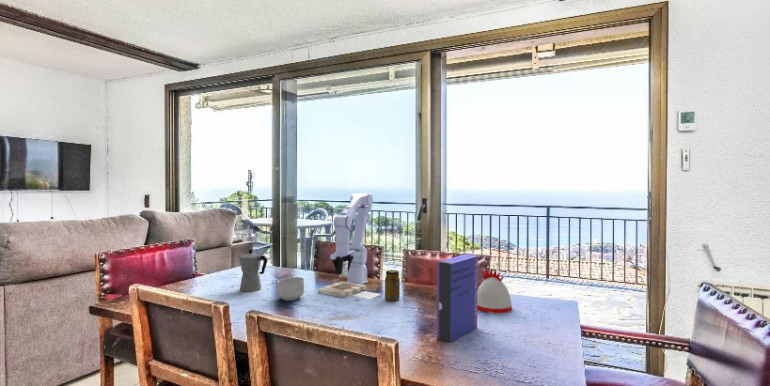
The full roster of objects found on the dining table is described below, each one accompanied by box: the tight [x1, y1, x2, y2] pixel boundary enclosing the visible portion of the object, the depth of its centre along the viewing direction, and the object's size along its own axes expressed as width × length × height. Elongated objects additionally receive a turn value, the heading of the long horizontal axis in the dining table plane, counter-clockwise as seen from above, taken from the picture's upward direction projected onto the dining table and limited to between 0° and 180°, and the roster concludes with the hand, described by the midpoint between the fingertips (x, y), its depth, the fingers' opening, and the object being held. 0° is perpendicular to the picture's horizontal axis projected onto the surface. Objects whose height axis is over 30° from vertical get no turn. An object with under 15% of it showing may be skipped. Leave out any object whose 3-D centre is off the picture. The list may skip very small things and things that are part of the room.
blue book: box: [436, 254, 479, 344], centre depth 132 cm, size 17×5×24 cm, turn 141°
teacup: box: [276, 276, 305, 302], centre depth 172 cm, size 14×11×8 cm
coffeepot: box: [237, 249, 268, 293], centre depth 185 cm, size 15×9×18 cm, turn 70°
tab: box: [352, 290, 382, 300], centre depth 175 cm, size 9×9×1 cm
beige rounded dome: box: [477, 268, 513, 314], centre depth 159 cm, size 14×14×15 cm
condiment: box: [384, 269, 401, 302], centre depth 168 cm, size 7×8×12 cm
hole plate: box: [317, 281, 367, 298], centre depth 182 cm, size 16×14×2 cm
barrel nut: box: [338, 261, 348, 279], centre depth 181 cm, size 5×5×7 cm
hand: (342, 273), depth 182 cm, fingers closed on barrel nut, 5 cm apart
